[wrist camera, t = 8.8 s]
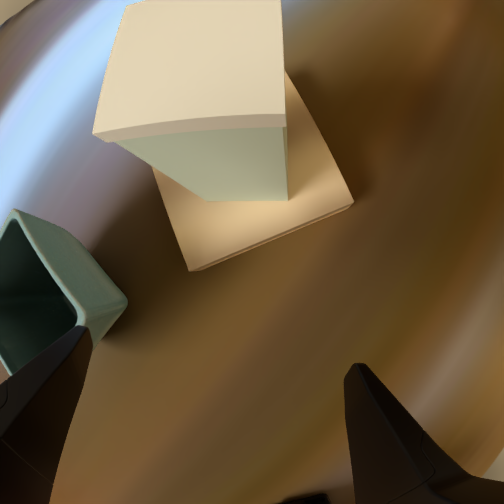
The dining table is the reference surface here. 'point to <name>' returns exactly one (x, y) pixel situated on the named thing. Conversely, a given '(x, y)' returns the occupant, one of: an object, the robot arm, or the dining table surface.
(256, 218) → the tan square coaster
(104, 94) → the tea tin
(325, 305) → the dining table surface
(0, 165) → the dining table surface
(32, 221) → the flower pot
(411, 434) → the robot arm
